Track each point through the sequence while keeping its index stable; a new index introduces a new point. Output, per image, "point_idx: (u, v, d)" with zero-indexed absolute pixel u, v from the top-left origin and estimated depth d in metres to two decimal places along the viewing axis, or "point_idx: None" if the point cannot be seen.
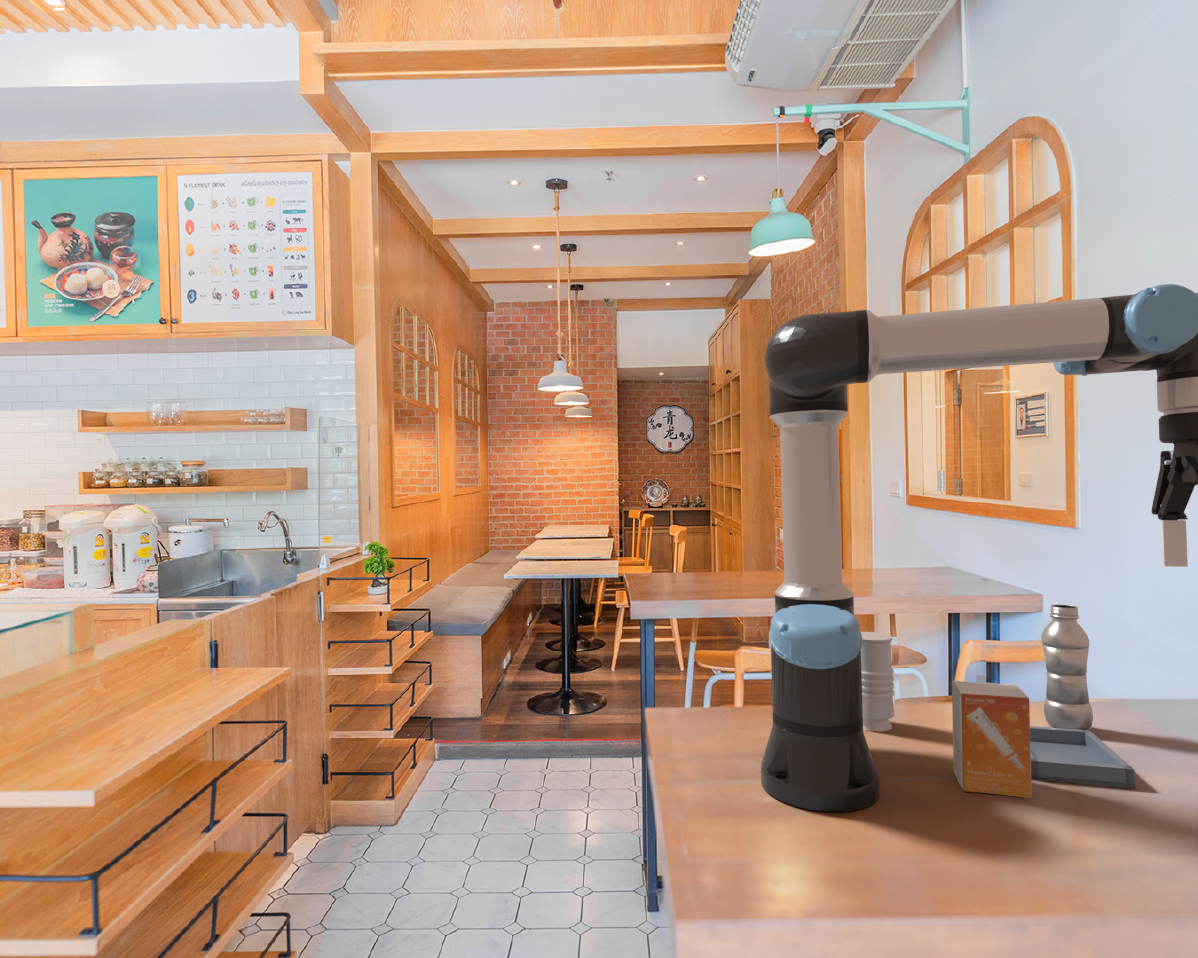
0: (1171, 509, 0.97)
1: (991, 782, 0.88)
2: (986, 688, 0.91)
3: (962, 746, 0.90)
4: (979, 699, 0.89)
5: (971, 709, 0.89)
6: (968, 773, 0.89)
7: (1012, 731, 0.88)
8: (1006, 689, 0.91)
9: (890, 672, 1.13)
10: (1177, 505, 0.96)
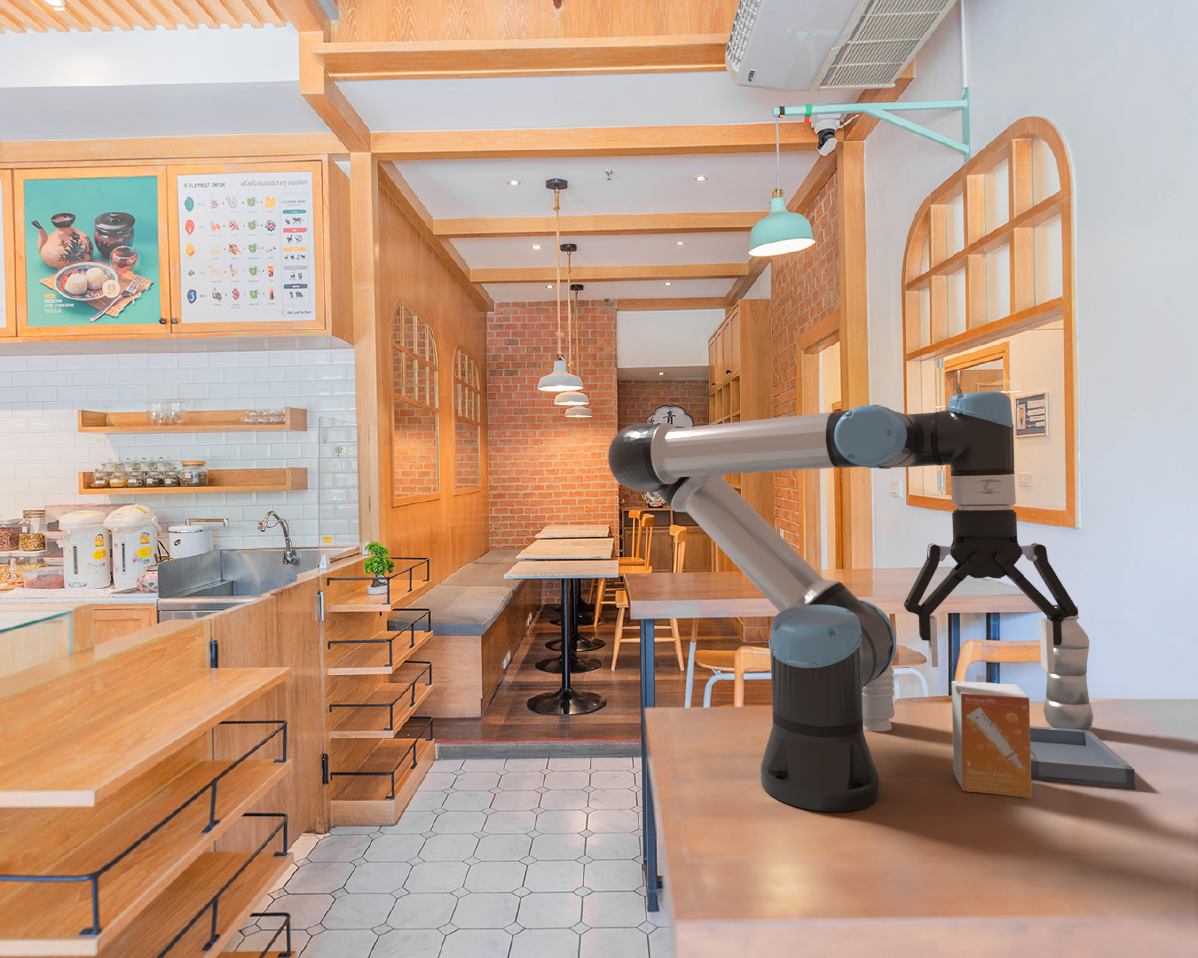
0: (1038, 606, 0.90)
1: (991, 782, 0.88)
2: (986, 688, 0.91)
3: (962, 746, 0.90)
4: (978, 699, 0.89)
5: (971, 709, 0.89)
6: (968, 773, 0.89)
7: (1012, 731, 0.88)
8: (1006, 689, 0.91)
9: (890, 672, 1.13)
10: (1035, 603, 0.90)
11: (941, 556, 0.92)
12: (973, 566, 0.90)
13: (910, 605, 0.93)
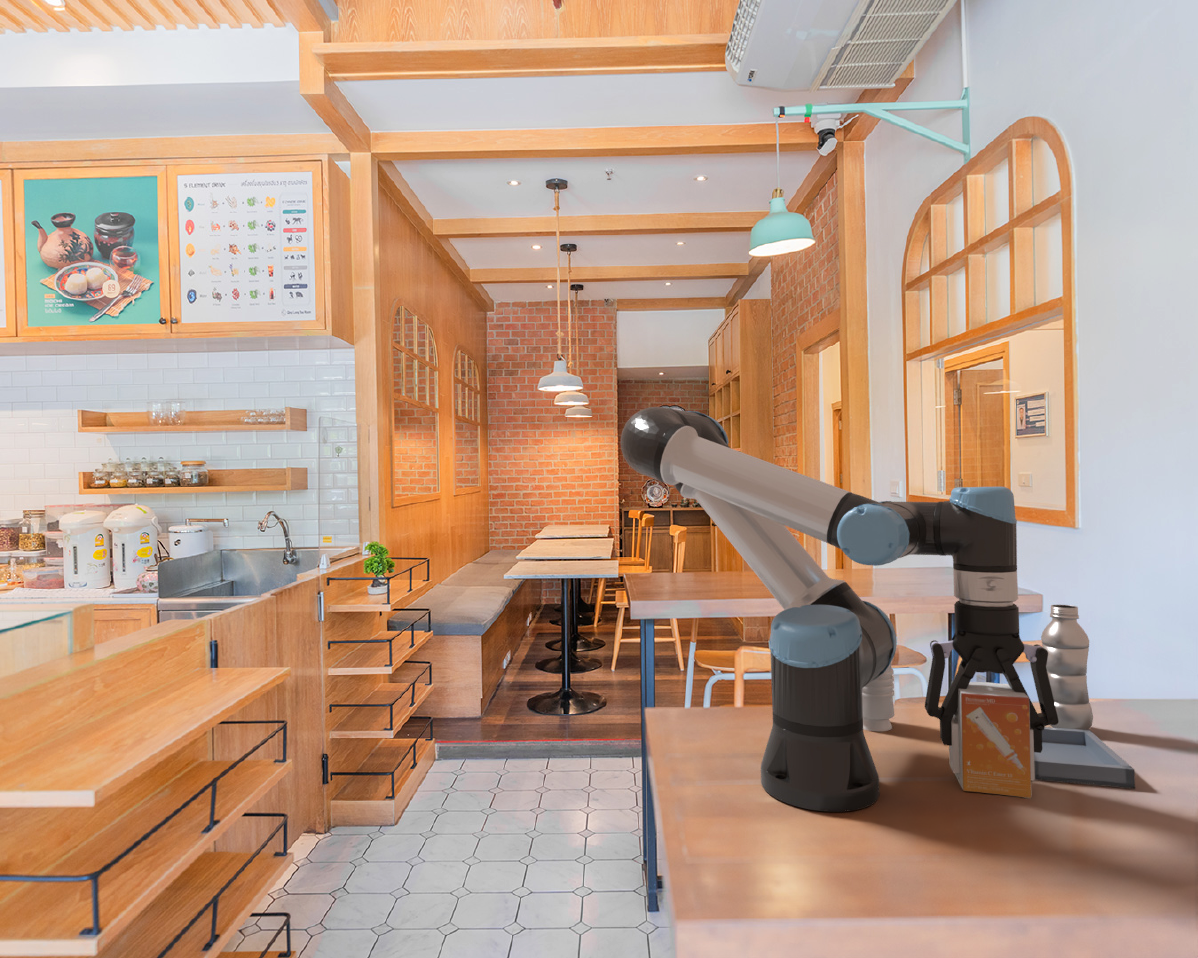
0: None
1: (991, 782, 0.88)
2: (986, 688, 0.91)
3: (962, 746, 0.90)
4: (979, 699, 0.89)
5: (971, 709, 0.89)
6: (968, 773, 0.89)
7: (1012, 731, 0.88)
8: (1006, 689, 0.91)
9: (890, 672, 1.13)
10: None
11: (945, 654, 0.92)
12: (978, 662, 0.90)
13: (931, 709, 0.92)
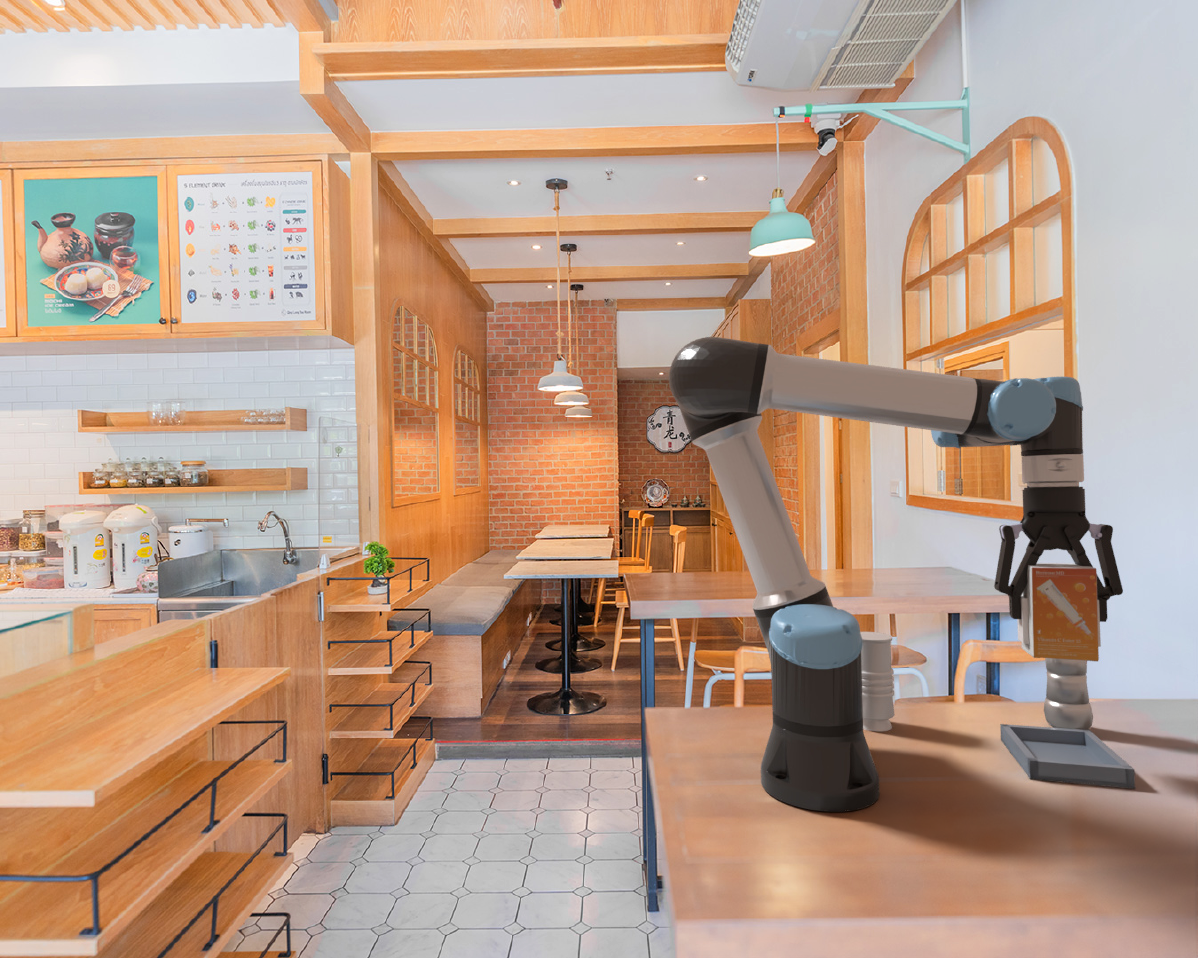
0: None
1: (1060, 648, 0.96)
2: (1054, 565, 0.98)
3: (1033, 616, 0.97)
4: (1049, 572, 0.96)
5: (1041, 582, 0.96)
6: (1039, 641, 0.96)
7: (1080, 600, 0.95)
8: (1073, 565, 0.98)
9: (890, 672, 1.13)
10: None
11: (1015, 534, 0.99)
12: (1047, 539, 0.97)
13: (1001, 586, 1.00)
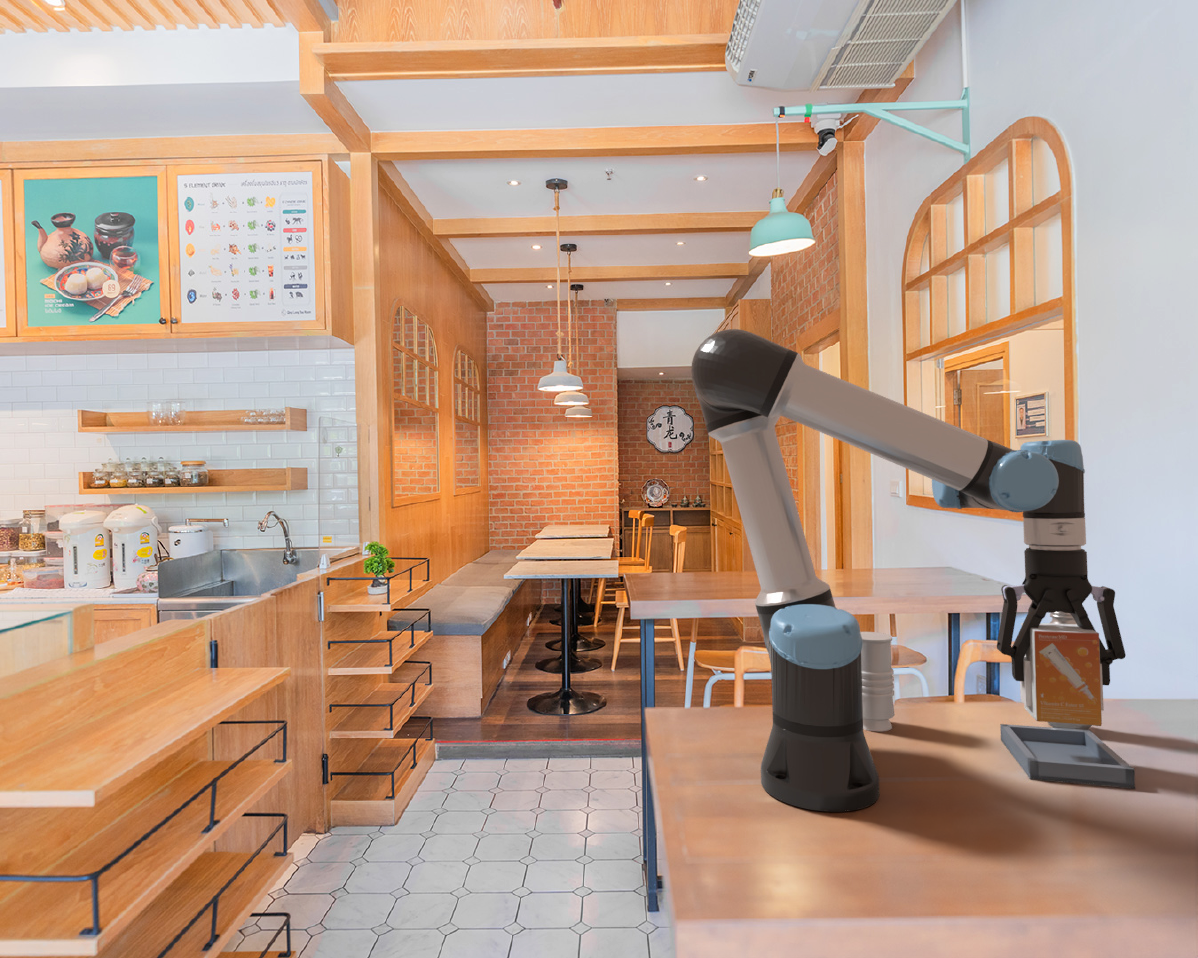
0: None
1: (1063, 712, 0.96)
2: (1056, 627, 0.98)
3: (1035, 680, 0.97)
4: (1051, 636, 0.96)
5: (1044, 645, 0.96)
6: (1041, 704, 0.96)
7: (1083, 665, 0.95)
8: (1075, 627, 0.98)
9: (890, 672, 1.13)
10: None
11: (1017, 596, 0.99)
12: (1049, 602, 0.97)
13: (1004, 648, 0.99)
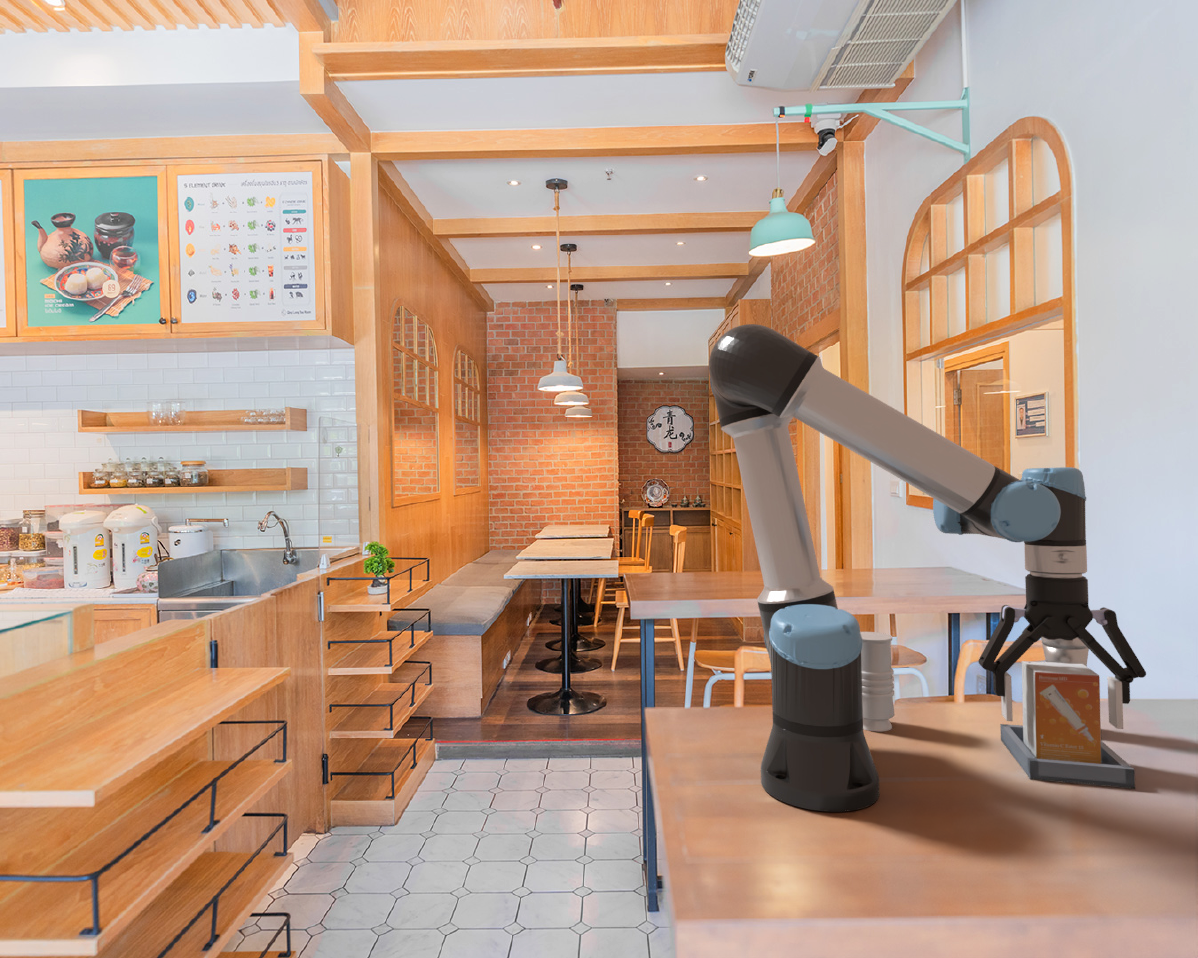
0: (1107, 667, 0.97)
1: (1063, 753, 0.96)
2: (1056, 667, 0.98)
3: (1036, 721, 0.97)
4: (1052, 677, 0.96)
5: (1044, 686, 0.96)
6: (1041, 745, 0.96)
7: (1083, 707, 0.95)
8: (1075, 668, 0.98)
9: (890, 672, 1.13)
10: (1105, 663, 0.97)
11: (1016, 618, 0.99)
12: (1047, 629, 0.97)
13: (986, 663, 1.00)
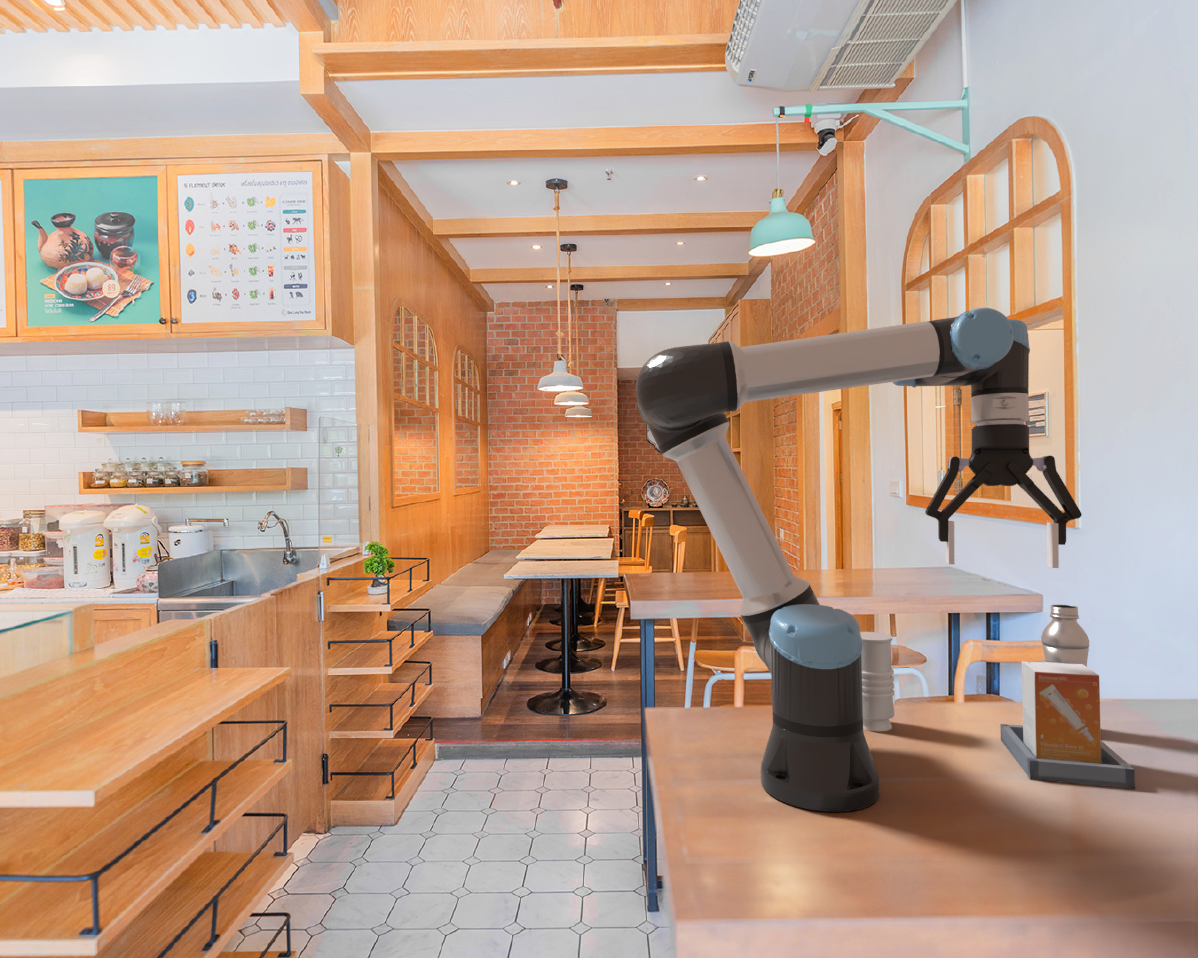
0: (1046, 512, 1.01)
1: (1063, 753, 0.96)
2: (1056, 667, 0.98)
3: (1035, 721, 0.97)
4: (1051, 677, 0.96)
5: (1044, 686, 0.96)
6: (1041, 745, 0.96)
7: (1083, 706, 0.95)
8: (1075, 668, 0.98)
9: (890, 672, 1.13)
10: (1043, 508, 1.01)
11: (960, 466, 1.04)
12: (989, 474, 1.02)
13: (931, 510, 1.05)
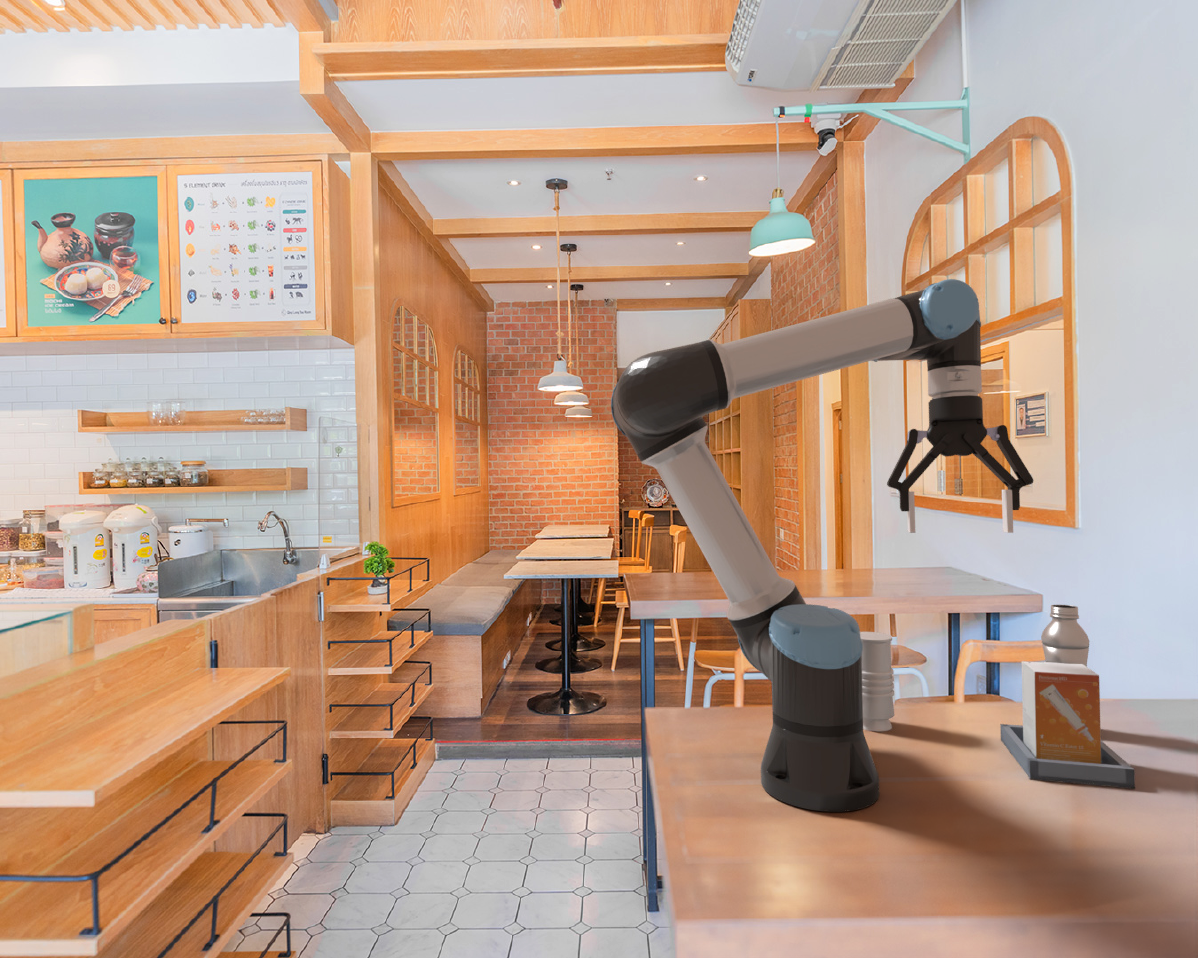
0: (1001, 479, 1.06)
1: (1063, 753, 0.96)
2: (1056, 667, 0.98)
3: (1035, 721, 0.97)
4: (1051, 677, 0.96)
5: (1044, 686, 0.96)
6: (1041, 745, 0.96)
7: (1083, 706, 0.95)
8: (1075, 668, 0.98)
9: (890, 672, 1.13)
10: (998, 475, 1.05)
11: (918, 438, 1.08)
12: (945, 445, 1.06)
13: (892, 481, 1.09)
